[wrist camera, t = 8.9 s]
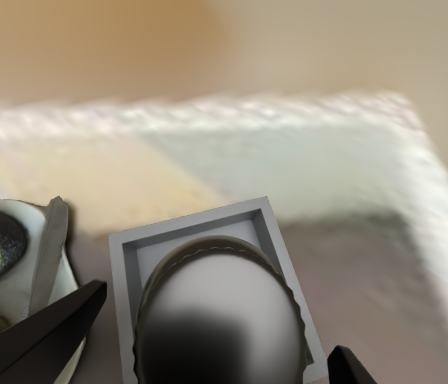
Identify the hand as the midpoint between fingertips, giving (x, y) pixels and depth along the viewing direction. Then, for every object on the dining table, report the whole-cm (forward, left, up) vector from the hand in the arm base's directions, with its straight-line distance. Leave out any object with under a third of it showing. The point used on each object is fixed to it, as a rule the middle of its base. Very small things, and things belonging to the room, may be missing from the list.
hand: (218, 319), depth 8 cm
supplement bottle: (0, 0, -10) cm, 10 cm away
